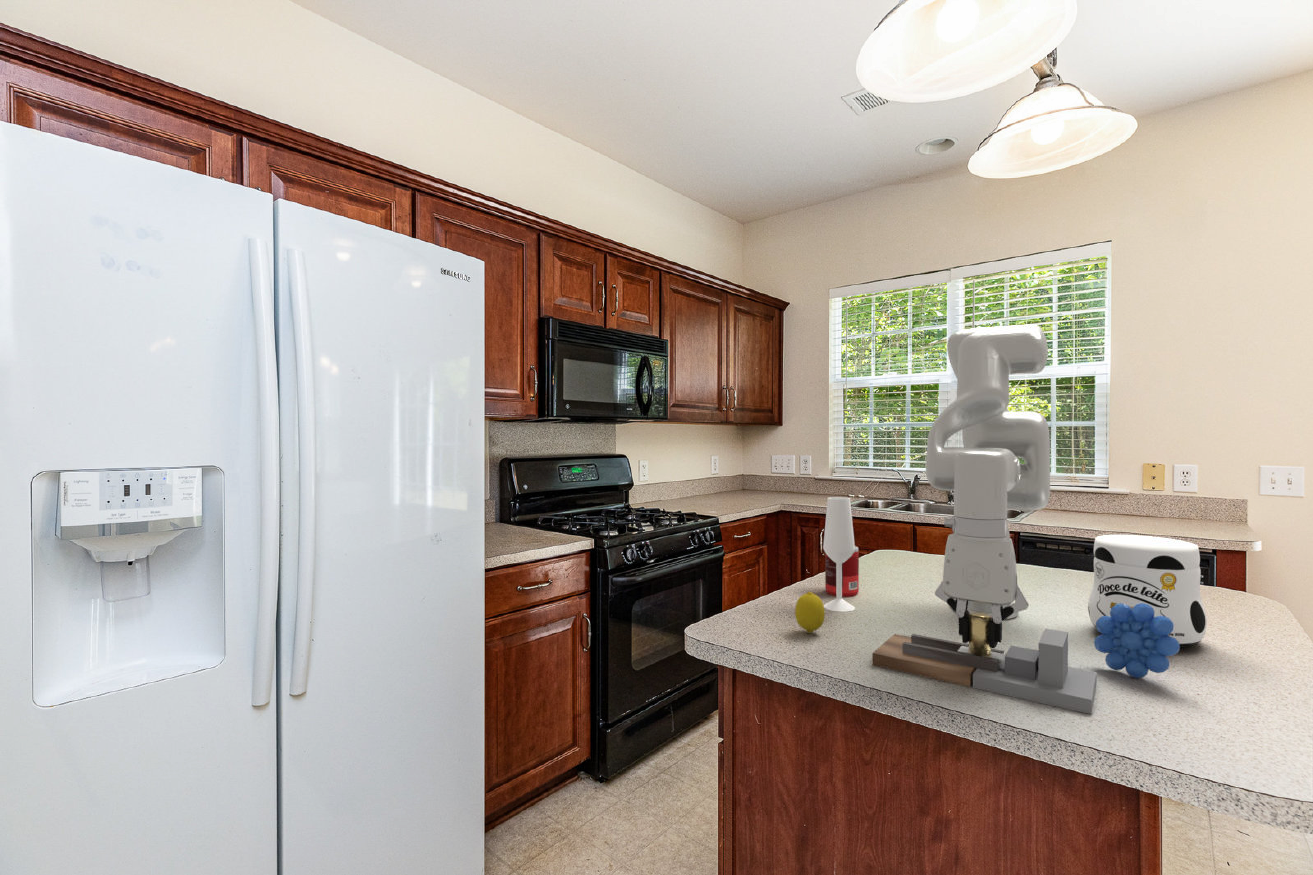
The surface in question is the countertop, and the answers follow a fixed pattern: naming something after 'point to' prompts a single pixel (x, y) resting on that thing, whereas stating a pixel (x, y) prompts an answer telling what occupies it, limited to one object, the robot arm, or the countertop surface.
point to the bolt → (981, 639)
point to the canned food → (843, 575)
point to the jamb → (1042, 675)
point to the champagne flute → (839, 544)
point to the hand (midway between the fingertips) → (980, 642)
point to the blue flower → (1136, 640)
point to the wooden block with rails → (931, 658)
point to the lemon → (810, 612)
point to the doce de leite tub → (1150, 581)
